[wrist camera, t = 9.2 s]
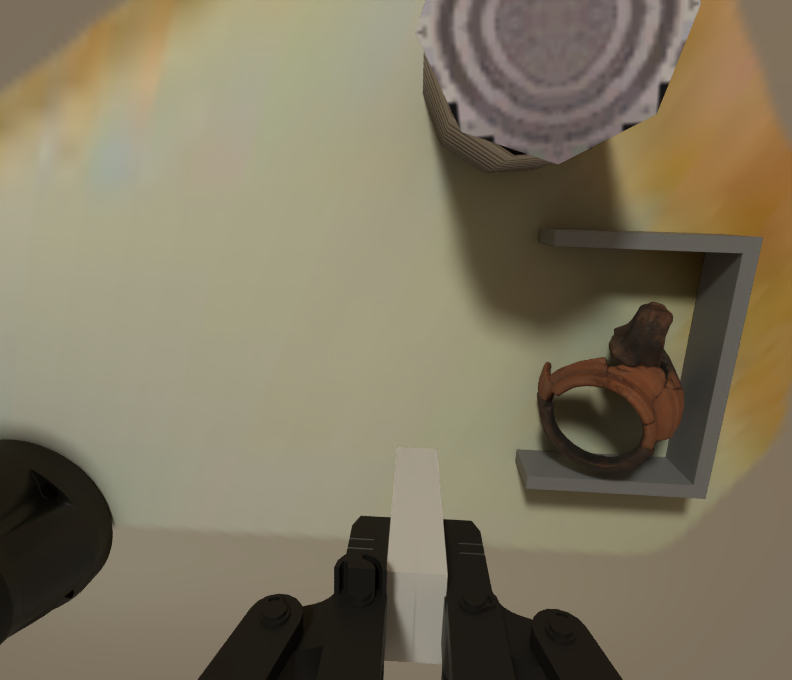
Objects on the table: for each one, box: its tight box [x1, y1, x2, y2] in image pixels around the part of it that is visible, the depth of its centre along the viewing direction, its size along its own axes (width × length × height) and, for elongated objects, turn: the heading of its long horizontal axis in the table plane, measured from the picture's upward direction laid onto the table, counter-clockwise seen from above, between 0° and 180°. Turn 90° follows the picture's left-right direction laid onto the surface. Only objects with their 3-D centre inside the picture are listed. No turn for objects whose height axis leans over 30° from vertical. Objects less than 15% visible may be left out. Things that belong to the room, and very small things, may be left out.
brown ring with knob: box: [537, 302, 684, 472], centre depth 34 cm, size 12×10×8 cm
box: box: [515, 228, 763, 499], centre depth 34 cm, size 12×18×4 cm
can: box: [416, 0, 701, 173], centre depth 26 cm, size 11×11×12 cm
